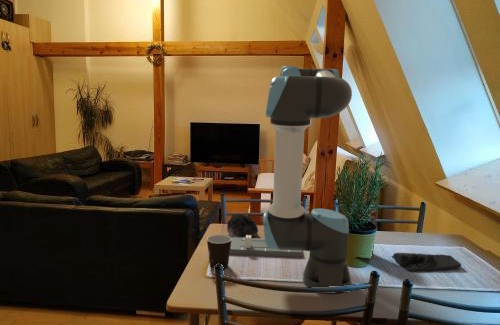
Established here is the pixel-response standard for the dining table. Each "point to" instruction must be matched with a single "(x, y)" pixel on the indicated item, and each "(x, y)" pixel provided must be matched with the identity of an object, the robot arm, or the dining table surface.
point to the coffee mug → (219, 250)
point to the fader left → (248, 241)
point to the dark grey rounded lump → (241, 226)
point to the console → (259, 248)
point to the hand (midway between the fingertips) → (286, 159)
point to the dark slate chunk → (425, 261)
